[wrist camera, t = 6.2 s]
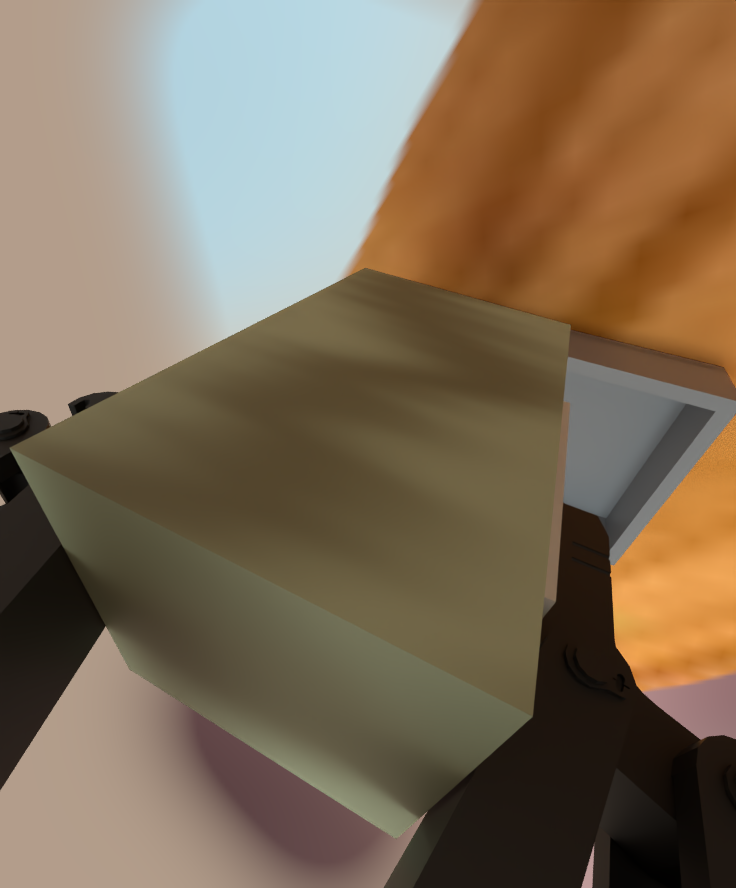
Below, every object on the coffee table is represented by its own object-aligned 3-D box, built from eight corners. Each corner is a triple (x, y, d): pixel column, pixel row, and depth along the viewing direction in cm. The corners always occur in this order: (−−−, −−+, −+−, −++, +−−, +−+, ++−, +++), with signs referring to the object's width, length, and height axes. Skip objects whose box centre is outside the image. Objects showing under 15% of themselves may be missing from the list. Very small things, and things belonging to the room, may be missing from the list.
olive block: (571, 324, 11) (532, 715, 3) (495, 485, 14) (395, 839, 7) (365, 267, 12) (8, 447, 5) (344, 427, 16) (129, 669, 8)
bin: (723, 367, 23) (744, 403, 20) (612, 522, 32) (613, 565, 28) (407, 289, 29) (383, 308, 25) (384, 440, 37) (363, 468, 34)
